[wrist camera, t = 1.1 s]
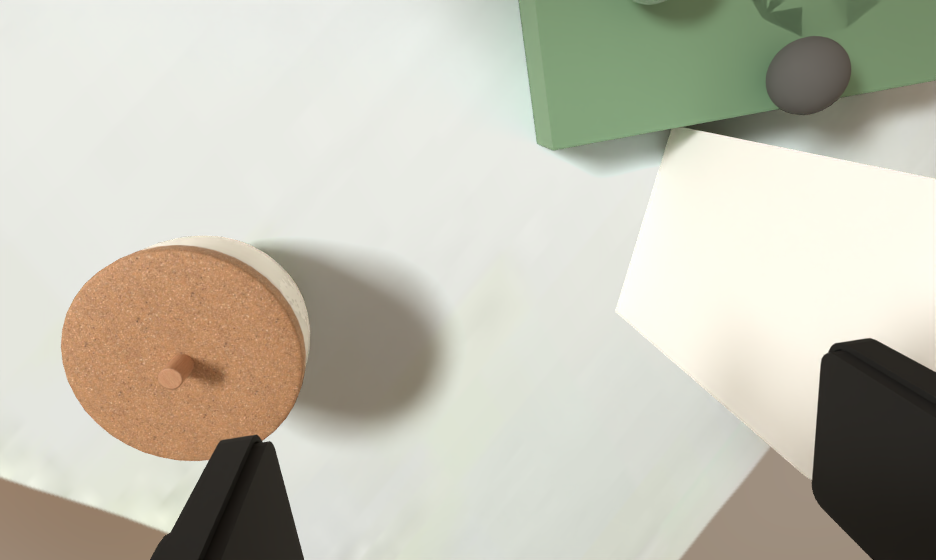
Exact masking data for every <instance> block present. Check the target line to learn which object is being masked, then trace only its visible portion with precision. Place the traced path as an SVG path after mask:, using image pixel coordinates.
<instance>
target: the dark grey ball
mask: <svg viewBox="0 0 936 560" xmlns="http://www.w3.org/2000/svg"><path fill="white" fill-rule="evenodd" d="M850 77H851V62H850V58H849V56H848V53H847V52H846V50H845V49H844V48H843V47H842V46H841V45H840V44H839V43H838V42H836V41H834V40H832V39H830V38H827V37H822V36H808V37H804V38H800V39H797V40H795V41H793V42H791V43H789V44H788V45H786V46H785V47H783V48H782V49H781V50H780V51H779V52H778V53H777V54H776V55H775V57H774V58H773V60H772V61H771V63H770V65H769V67H768V70H767V73H766V90H767V93H768V95H769V97H770V99H771V101H772V102H773V103H774V104H775V105H776V106H777V107H778V108H780V109H781V110H783V111H785V112H788V113H791V114H797V115H806V114H812V113H816V112H819V111H821V110H823V109H825V108H827V107H829V106H830V105H832V104H833V103H834V102H835V101H837V100H838V99H839V98H840V96H841V95H842V94H843V93H844V91H845V89H846V88H847V86H848V83H849V81H850Z"/></svg>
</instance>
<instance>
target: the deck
mask: <svg viewBox="0 0 936 560" xmlns="http://www.w3.org/2000/svg"><path fill="white" fill-rule="evenodd" d="M518 1H519V8H520V16H521V24H522V31H523V39H524V47H525V55H526V62H527V70H528V78H529V85H530V93H531V101H532V109H533V116H534V124H535V132H536V139H537V144H539V145H541V146H544V147H546V148H549V149H551V150H558V149H564V148H569V147H575V146H580V145H585V144H591V143H596V142H602V141H607V140H613V139H618V138H624V137H629V136H635V135H640V134H645V133H651V132H656V131H662V130H667V129H673V128H678V127H684V126H689V125H695V124H700V123H705V122H711V121H716V120H722V119H727V118H733V117H738V116H744V115H749V114H755V113H760V112H766V111H771V110H776V109H780V108H778V107H777V106H776V105H775V104H774V103H773V102H772V101H771V99H770V97H769V95H768V93H767V90H766V73H767V70H768V67H769V65H770V63H771V61H772V60H773V58H774V57H775V55H776V54H777V53H778V52H779V51H780V50H781V49H782V48H783V47H785V46H786V45H788V44H789V43H791V42H793V41H795V40H797V39H800V38H804V37H808V36H822V37H827V38H830V39H832V40H834V41H836V42H838V43H839V44H840V45H841V46H842V47H843V48H844V49H845V50H846V52H847V53H848V56H849V58H850V62H851V77H850V81H849V83H848V86H847V88H846V89H845V91H844V93H843V94H842V95H841V96H840V98H842V97H847V96H853V95H858V94H864V93H869V92H875V91H880V90H886V89H891V88H896V87H902V86H907V85H913V84H918V83H924V82H929V81H935V80H936V0H667V1H664V2H662V3H658V4H652V5H644V4H639V3H636V2H633V1H632V0H518Z"/></svg>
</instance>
